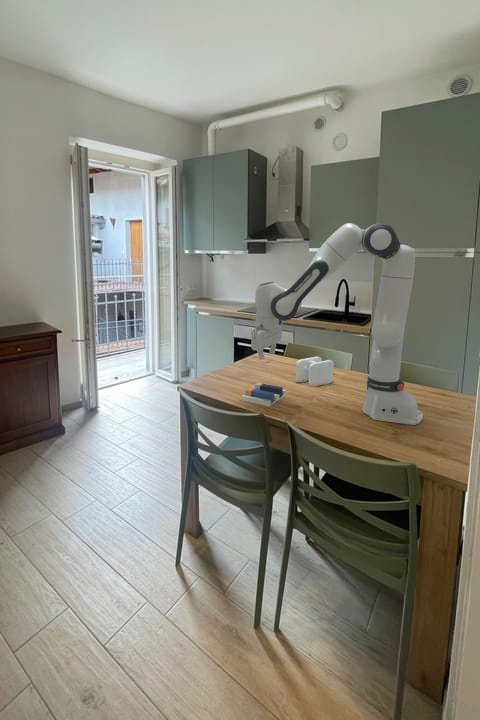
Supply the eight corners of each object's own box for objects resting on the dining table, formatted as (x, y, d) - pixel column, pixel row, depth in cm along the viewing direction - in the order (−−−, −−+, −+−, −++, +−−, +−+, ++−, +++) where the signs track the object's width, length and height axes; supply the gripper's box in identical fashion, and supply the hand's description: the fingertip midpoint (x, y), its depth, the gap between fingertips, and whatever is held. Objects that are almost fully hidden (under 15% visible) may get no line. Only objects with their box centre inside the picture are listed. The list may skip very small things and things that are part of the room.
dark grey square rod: (282, 396, 175) (282, 387, 174) (279, 398, 173) (279, 389, 172) (258, 391, 181) (258, 382, 180) (254, 393, 179) (255, 384, 178)
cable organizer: (308, 388, 187) (310, 364, 184) (294, 382, 196) (295, 359, 193) (333, 383, 194) (334, 360, 191) (318, 377, 203) (319, 355, 200)
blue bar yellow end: (274, 401, 169) (274, 392, 167) (270, 404, 166) (270, 395, 165) (249, 396, 175) (249, 387, 174) (245, 398, 172) (245, 389, 171)
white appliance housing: (285, 396, 177) (286, 389, 176) (269, 408, 164) (269, 401, 163) (259, 391, 184) (260, 384, 183) (241, 402, 171) (241, 395, 170)
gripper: (261, 328, 152) (261, 363, 156) (284, 319, 169) (284, 351, 173) (246, 327, 155) (247, 361, 159) (270, 318, 172) (271, 350, 176)
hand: (266, 356), depth 166 cm, fingers open, 8 cm apart
